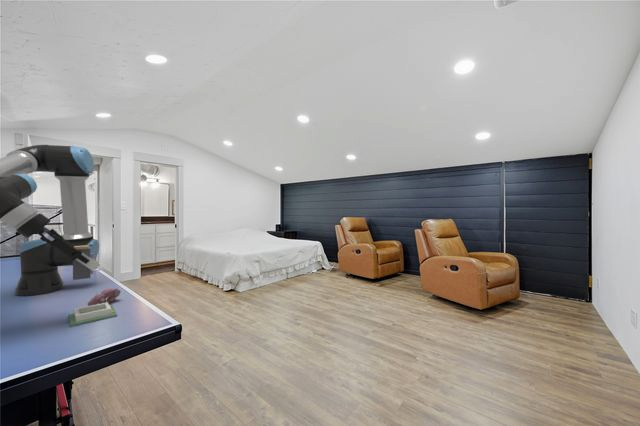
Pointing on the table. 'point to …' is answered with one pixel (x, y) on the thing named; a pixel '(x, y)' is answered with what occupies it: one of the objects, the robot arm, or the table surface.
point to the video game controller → (104, 296)
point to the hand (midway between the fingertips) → (96, 266)
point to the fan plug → (80, 269)
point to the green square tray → (91, 314)
